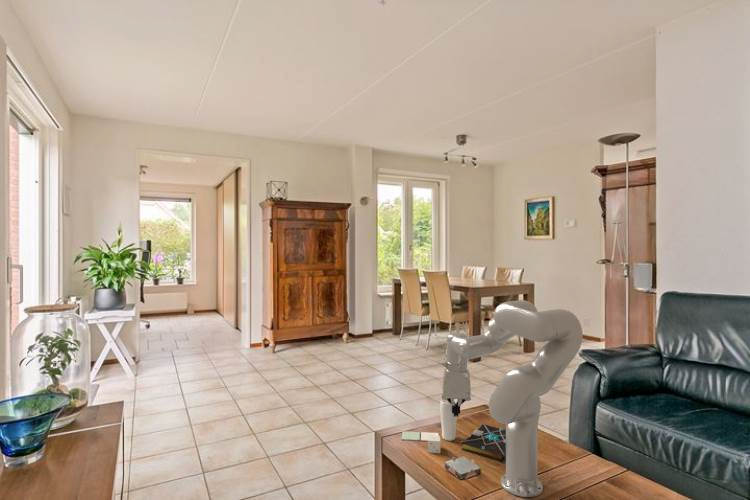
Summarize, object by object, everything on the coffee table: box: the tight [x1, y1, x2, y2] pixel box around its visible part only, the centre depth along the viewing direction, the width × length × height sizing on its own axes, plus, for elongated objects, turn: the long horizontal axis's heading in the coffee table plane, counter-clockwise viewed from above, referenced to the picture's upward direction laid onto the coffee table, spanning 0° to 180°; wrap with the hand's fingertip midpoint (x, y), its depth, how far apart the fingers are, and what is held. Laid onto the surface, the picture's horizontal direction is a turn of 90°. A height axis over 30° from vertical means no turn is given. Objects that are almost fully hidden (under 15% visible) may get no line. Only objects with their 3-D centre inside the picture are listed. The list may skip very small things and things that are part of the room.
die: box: [427, 435, 441, 454], centre depth 161 cm, size 5×4×5 cm
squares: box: [401, 430, 439, 442], centre depth 172 cm, size 7×14×1 cm, turn 84°
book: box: [460, 422, 506, 464], centre depth 164 cm, size 22×17×5 cm
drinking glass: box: [439, 398, 458, 442], centre depth 170 cm, size 7×7×15 cm
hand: (455, 415), depth 160 cm, fingers closed
